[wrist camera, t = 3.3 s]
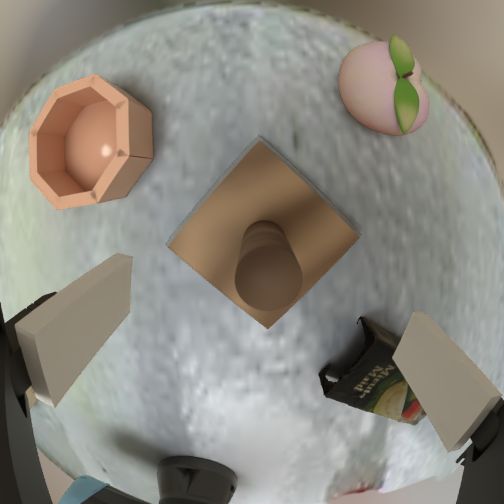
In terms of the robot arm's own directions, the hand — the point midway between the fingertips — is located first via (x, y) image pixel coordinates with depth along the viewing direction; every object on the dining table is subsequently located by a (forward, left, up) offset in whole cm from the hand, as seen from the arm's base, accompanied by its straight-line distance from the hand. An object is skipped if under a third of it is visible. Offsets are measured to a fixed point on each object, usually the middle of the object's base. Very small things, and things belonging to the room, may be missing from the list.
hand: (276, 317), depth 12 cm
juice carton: (-25, +2, -18) cm, 31 cm away
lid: (0, 0, -16) cm, 16 cm away
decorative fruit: (+2, -18, -18) cm, 25 cm away
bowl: (+20, +4, -18) cm, 27 cm away
